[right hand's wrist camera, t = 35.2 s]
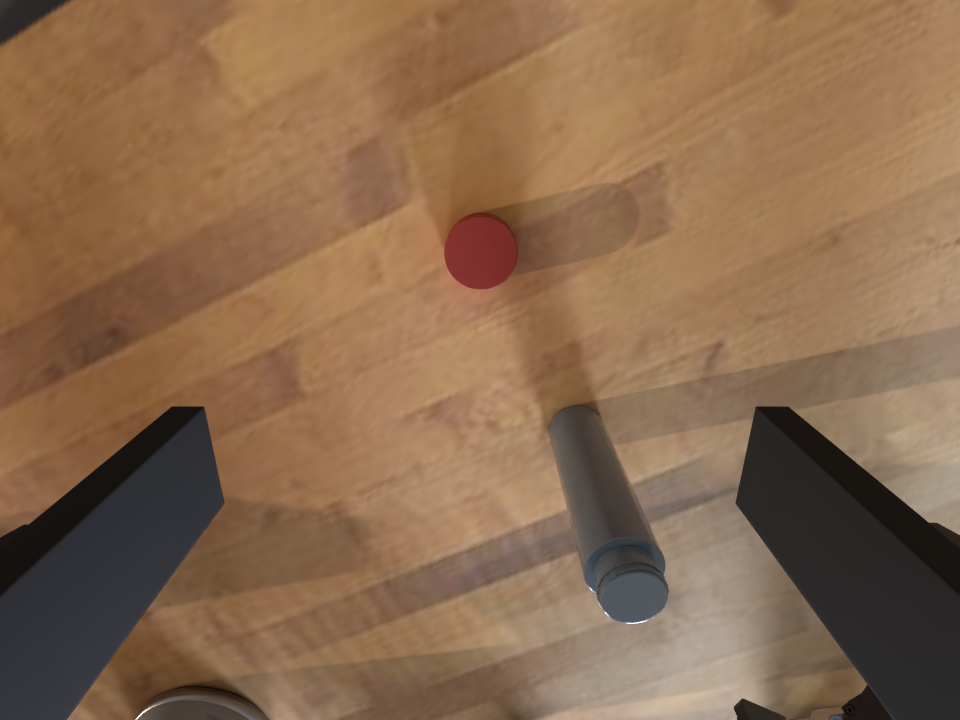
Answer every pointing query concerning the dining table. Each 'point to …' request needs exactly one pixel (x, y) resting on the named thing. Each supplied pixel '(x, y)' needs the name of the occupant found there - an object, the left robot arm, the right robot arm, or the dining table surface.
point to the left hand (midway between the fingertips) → (791, 671)
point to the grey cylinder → (607, 519)
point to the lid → (480, 251)
